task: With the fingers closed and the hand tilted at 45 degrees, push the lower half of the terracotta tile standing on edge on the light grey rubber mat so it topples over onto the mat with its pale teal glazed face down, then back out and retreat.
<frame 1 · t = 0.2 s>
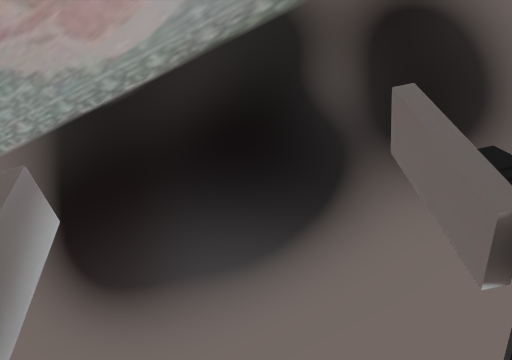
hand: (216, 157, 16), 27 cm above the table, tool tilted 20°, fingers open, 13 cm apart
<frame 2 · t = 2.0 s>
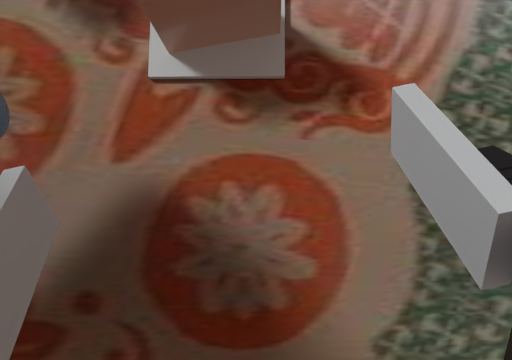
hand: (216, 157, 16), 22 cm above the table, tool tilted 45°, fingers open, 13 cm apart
tile: (222, 32, 38), point 1 cm above the table, touching mat
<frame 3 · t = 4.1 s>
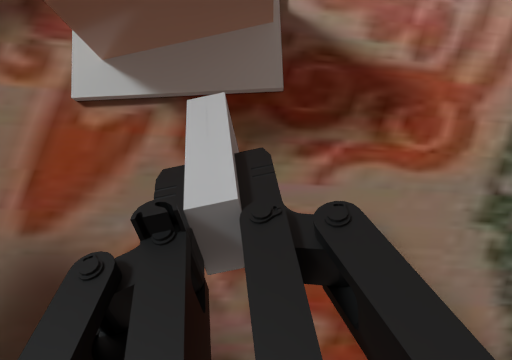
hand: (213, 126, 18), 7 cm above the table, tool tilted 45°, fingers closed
tile: (184, 24, 25), point 1 cm above the table, touching mat
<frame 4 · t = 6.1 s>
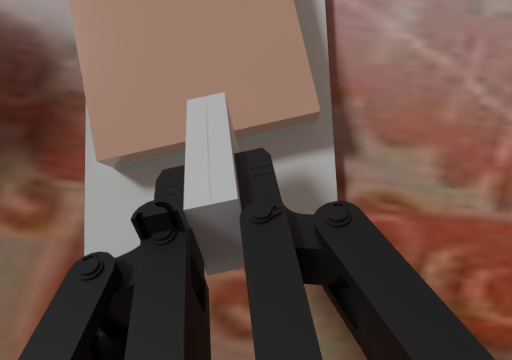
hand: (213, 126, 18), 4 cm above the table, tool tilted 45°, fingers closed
mat: (206, 16, 22), on the table
tile: (211, 141, 20), point 2 cm above the table, tilted 90°, touching mat
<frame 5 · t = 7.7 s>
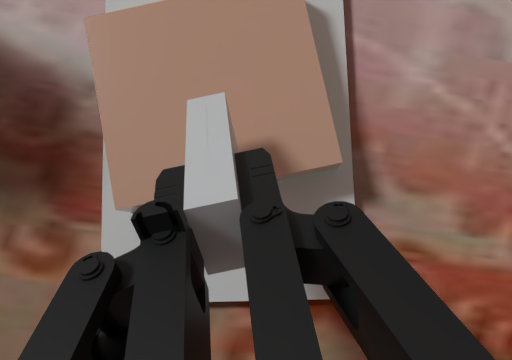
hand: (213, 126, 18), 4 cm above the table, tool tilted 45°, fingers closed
mat: (225, 57, 22), on the table
tile: (230, 188, 20), point 2 cm above the table, tilted 90°, touching mat
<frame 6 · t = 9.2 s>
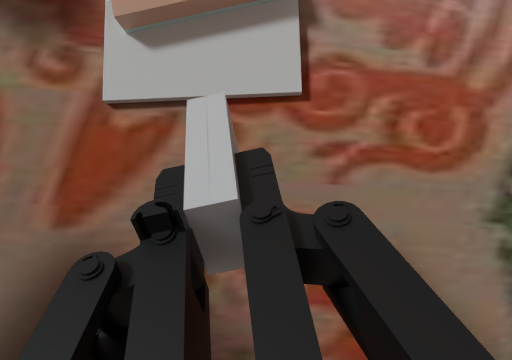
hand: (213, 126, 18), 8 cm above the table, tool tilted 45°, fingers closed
tile: (202, 7, 26), point 2 cm above the table, tilted 90°, touching mat
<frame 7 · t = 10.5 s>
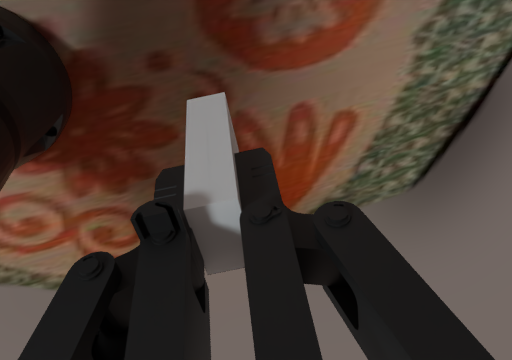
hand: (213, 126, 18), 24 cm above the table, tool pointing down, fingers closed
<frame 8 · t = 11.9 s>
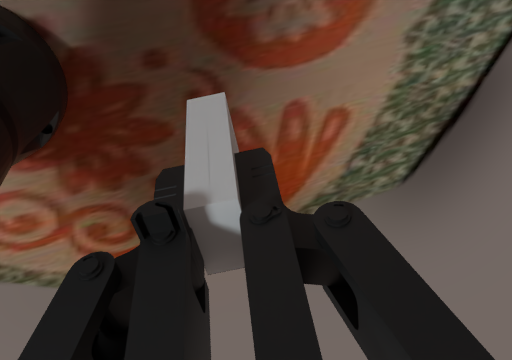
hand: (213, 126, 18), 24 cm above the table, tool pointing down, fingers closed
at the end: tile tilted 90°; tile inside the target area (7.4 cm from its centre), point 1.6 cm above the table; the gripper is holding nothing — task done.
